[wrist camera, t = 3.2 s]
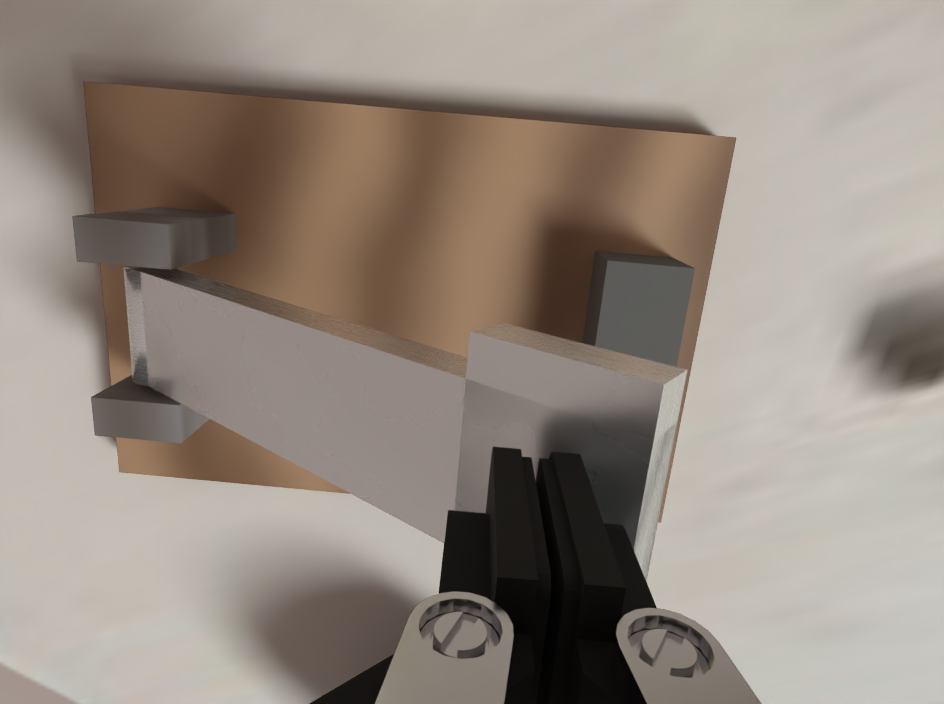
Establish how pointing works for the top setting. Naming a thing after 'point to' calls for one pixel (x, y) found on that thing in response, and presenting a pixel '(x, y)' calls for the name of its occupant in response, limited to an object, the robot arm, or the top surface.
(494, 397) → the lever
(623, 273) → the catch block
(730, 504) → the top surface
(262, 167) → the walnut board
